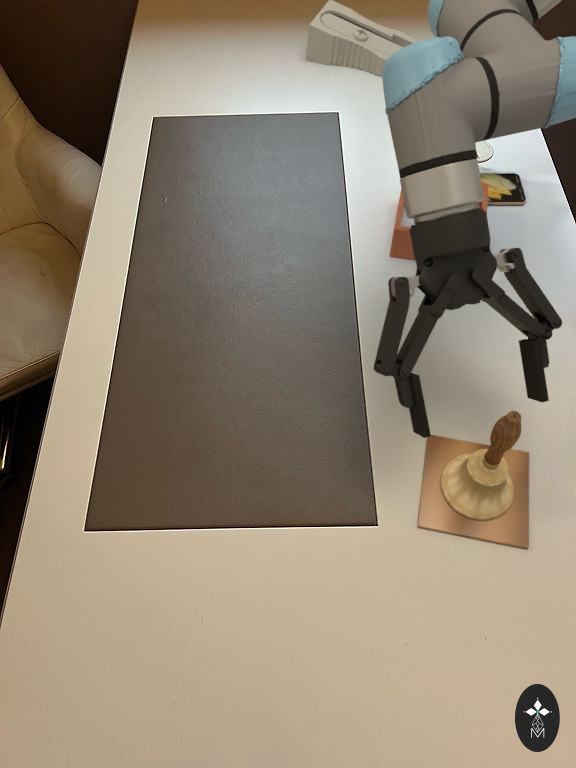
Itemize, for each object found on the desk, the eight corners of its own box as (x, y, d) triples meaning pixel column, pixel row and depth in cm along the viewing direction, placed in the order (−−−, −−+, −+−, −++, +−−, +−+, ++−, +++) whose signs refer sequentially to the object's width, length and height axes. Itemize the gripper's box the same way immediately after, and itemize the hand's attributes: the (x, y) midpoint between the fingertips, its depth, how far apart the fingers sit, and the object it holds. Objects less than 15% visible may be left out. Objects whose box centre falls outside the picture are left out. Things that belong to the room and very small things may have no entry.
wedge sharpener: (325, 34, 130) (326, -2, 125) (418, 53, 126) (423, 16, 120) (305, 60, 125) (306, 23, 119) (401, 80, 120) (407, 44, 114)
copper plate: (528, 453, 75) (529, 452, 74) (527, 549, 68) (528, 548, 68) (427, 435, 76) (427, 433, 76) (417, 527, 70) (417, 526, 69)
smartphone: (427, 173, 103) (518, 173, 103) (426, 176, 104) (517, 176, 103) (431, 201, 99) (526, 201, 99) (430, 205, 100) (525, 205, 99)
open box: (480, 212, 99) (488, 183, 94) (476, 269, 92) (485, 241, 87) (399, 201, 100) (404, 172, 96) (389, 256, 93) (394, 228, 89)
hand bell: (497, 534, 69) (545, 469, 55) (428, 497, 71) (458, 427, 58) (523, 475, 73) (574, 401, 59) (457, 443, 75) (491, 365, 62)
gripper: (535, 192, 67) (562, 380, 72) (317, 244, 63) (359, 440, 68) (581, 181, 60) (608, 391, 64) (338, 239, 56) (384, 459, 60)
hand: (481, 416), depth 66 cm, fingers open, 13 cm apart
